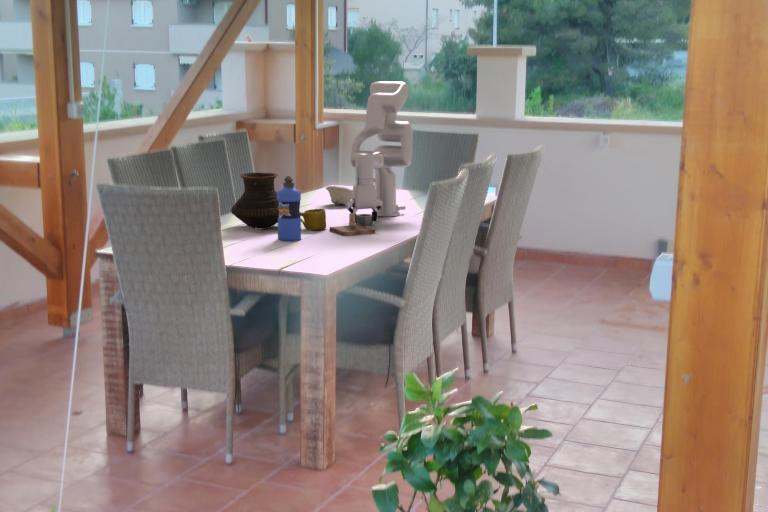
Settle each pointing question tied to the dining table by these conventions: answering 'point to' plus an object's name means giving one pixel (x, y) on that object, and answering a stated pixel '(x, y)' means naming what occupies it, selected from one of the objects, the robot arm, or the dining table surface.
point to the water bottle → (289, 212)
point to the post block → (352, 228)
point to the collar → (365, 220)
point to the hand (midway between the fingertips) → (364, 221)
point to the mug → (314, 219)
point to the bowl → (339, 194)
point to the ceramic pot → (257, 201)
